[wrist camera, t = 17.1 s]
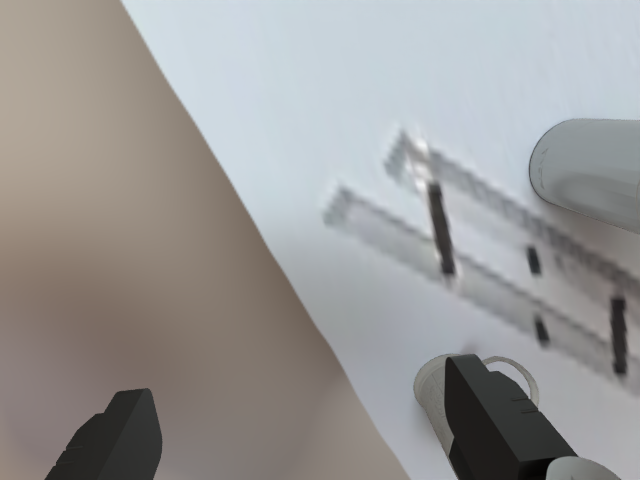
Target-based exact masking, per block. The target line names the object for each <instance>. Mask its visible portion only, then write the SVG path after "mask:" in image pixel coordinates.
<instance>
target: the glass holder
mask: <svg viewBox="0 0 640 480" xmlns="http://www.w3.org/2000/svg"><path fill="white" fill-rule="evenodd" d="M452 356H461V355H459V354H446V355H441V356H439V357H436V358H434V359H432V360H430V361H429V362H428V363H426V364H425V365H424V366H423V367H422V368H421V369H420V371H419V372H418V374H417V376H416V378H415V381H414V394H415V397H416V399H417V401H418V402H419V404H420V405H421V406H422V407H424V408H425V410H426V413H427V415H428V417H429V419H430V421H431V424H432V426H433V428H434V430H435V432H436V434H437V437H438V439H439V441H440V443H441V445H442V448H443V450H444V452H445V454H446V456H447V458H448V461H449V463H450V465H451V467H452V469H453V471H454V473H455V475H456V477H457V478H458V480H476V479H475V477H474V475H473V473H472V471H471V469H470V467H469V465H468V463H467V461H466V459H465V457H464V455H463V453H462V451H461V449H460V447H459V445H458V443H457V441H456V439H455V438H454V436H453V434H452V432H451V430H450V428H449V425H448V422H447V419H446V414H445V408H444V389H445V361H446V358H447V357H452ZM496 361H503V362H507V363H509V364H511V365H512V366H514V367H515V368H516V369H517V370H518V371H520V372H521V373H522V374H523V376H524V377H525V379H526V380H527V382H528V384H529V387H530V392H531V401H532V402H533V403H534V404H535V405H536V407H538V402H539V391H538V387H537V384H536V381H535V380H534V379H533V377H532V376H531V374H530V373H529V372H528V371H527V370H526V369H525V368H524V367H523V366H521V365H520V364H518V363H517V362H515V361H513V360H511V359H508V358H504V357H497V356H494V357H491V358H488V359H485V360H483V361H482V363H483V364H484V365H487V364H490V363H492V362H496Z"/></svg>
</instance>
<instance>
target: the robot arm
mask: <svg viewBox="0 0 640 480" xmlns="http://www.w3.org/2000/svg"><path fill="white" fill-rule="evenodd" d="M530 178H531V182H532V185H533V187H534V189H535V191H536V192H537V193H538V194H539V196H540V197H541V198H543V199H544V200H546V201H547V202H550V203H552V204H555V205H558V206H561V207H564V208H566V209H569V210H572V211H574V212H577V213H580V214H583V215H586V216H588V217H591V218H594V219H597V220H600V221H603V222H606V223H609V224H611V225H614V226H617V227H620V228H623V229H626V230H629V231H631V232H634V233H637V234H640V120H614V119H571V120H568V121H564V122H562V123H560V124H558V125H556V126H555V127H553V128H552V129H551V130H549V131H548V132H547V133H546V134H545V135H544V136H543V137H542V139H541V140H540V141H539V143H538V145H537V146H536V148H535V150H534V152H533V155H532V158H531V163H530ZM444 408H445V414H446V419H447V422H448V425H449V428H450V430H451V432H452V434H453V436H454V438H455V439H456V441H457V443H458V445H459V447H460V449H461V451H462V453H463V455H464V457H465V459H466V461H467V463H468V465H469V467H470V469H471V471H472V473H473V475H474V477H475V479H476V480H621V479H620V478H619V477H618V476H617V475H616V474H614V473H613V472H612V471H610V470H609V469H607V468H606V467H604V466H602V465H600V464H598V463H596V462H594V461H591V460H588V459H585V458H580V457H579V456H578V455H577V454H576V453H575V452H574V451H573V449H572V448H571V447H570V446H569V445H568V443H567V442H566V441H565V440H564V439H563V437H562V436H561V435H560V434H559V433H558V432H557V430H556V429H555V428H554V427H553V426H552V424H551V423H550V422H549V421H548V420H547V418H546V417H545V416H544V415H543V414H542V412H539V411H538V408H537V407H536V405H535V404H534V403H533V402H532V401H531V399H528V396H527V395H526V393H525V392H524V391H523V390H522V389H521V388H520V386H519V385H518V384H517V383H516V382H515V381H513V380H512V379H510V378H509V377H507V376H506V375H504V374H502V373H501V372H499V371H493V372H489V370H488V369H487V368H486V367H485V365H484V364H483V363H482V361H481V360H480V359H479V357H478V356H477V355H475V354H470V355H461V356H452V357H447V358H446V361H445V389H444ZM161 453H162V434H161V430H160V425H159V421H158V417H157V413H156V409H155V404H154V400H153V396H152V393H151V391H150V389H148V388H145V389H136V390H127V391H119V392H117V393H116V394H115V395H114V397H113V399H112V400H111V402H110V403H109V405H108V407H107V409H106V410H105V412H104V413H101V414H95V415H94V416H93V417H92V418H91V419H89V420H88V421H87V422H86V423H85V424H84V425H83V426H81V427H80V428H79V429H78V430H77V431H76V433H75V434H74V436H73V437H72V439H71V441H70V442H69V444H68V445H67V447H66V451H63V453H62V454H61V456H60V457H59V459H58V460H57V462H56V466H53V468H52V469H51V471H50V472H49V474H48V475H47V477H46V478H45V480H153V478H154V475H155V472H156V470H157V467H158V464H159V461H160V458H161Z"/></svg>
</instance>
